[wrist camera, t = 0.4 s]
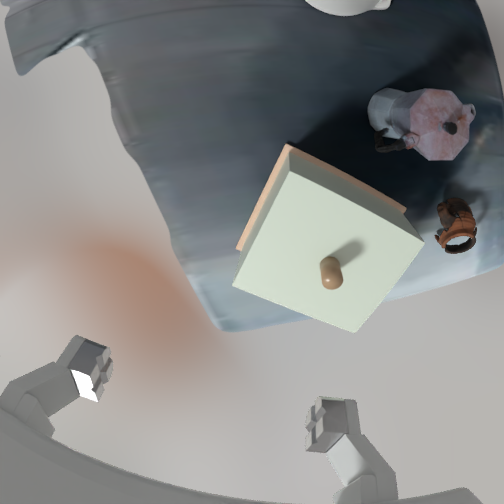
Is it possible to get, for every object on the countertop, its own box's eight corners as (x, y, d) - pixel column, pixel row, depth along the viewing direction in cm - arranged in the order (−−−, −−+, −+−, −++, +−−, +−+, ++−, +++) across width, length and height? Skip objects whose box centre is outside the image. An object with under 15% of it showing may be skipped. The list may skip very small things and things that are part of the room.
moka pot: (436, 120, 44) (501, 143, 26) (366, 159, 49) (406, 199, 32) (411, 72, 40) (473, 70, 23) (338, 111, 46) (369, 125, 29)
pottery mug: (477, 208, 50) (487, 243, 46) (443, 228, 58) (450, 262, 54) (449, 179, 46) (460, 216, 42) (412, 204, 54) (419, 240, 50)
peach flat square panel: (285, 143, 50) (285, 143, 49) (405, 207, 52) (406, 208, 52) (236, 247, 60) (235, 248, 60) (346, 294, 63) (346, 295, 63)
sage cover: (288, 151, 50) (289, 179, 35) (400, 210, 52) (434, 256, 38) (242, 246, 59) (227, 301, 45) (345, 290, 62) (358, 349, 48)
